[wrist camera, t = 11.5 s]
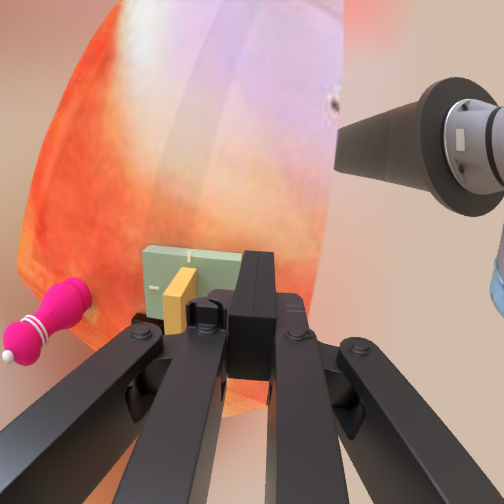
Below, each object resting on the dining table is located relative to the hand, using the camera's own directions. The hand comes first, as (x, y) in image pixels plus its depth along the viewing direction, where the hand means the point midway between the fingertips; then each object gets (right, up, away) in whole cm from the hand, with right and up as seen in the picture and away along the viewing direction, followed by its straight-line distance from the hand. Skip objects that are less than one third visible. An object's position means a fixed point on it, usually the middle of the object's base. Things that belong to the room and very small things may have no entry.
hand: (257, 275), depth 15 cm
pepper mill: (-30, -6, +26) cm, 40 cm away
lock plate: (-8, -3, +25) cm, 26 cm away
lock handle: (-8, -4, +22) cm, 24 cm away
